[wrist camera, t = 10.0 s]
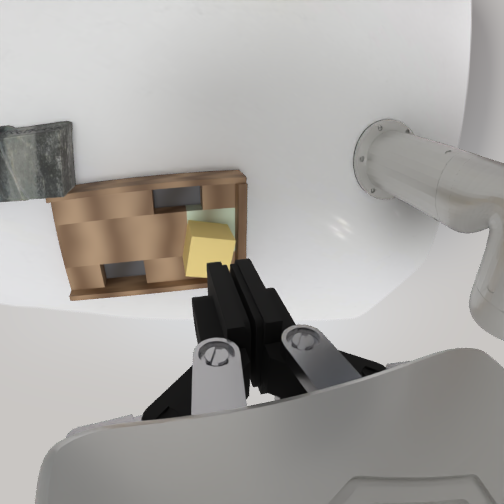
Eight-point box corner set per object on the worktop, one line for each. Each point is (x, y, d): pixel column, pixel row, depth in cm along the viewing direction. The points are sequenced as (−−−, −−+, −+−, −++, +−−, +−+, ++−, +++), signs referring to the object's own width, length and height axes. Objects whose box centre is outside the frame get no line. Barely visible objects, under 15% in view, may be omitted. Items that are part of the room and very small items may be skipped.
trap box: (238, 169, 40) (247, 178, 36) (238, 268, 47) (245, 285, 43) (55, 188, 34) (44, 198, 31) (76, 284, 41) (70, 302, 37)
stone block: (-17, 130, 28) (-37, 135, 23) (75, 115, 32) (62, 118, 27) (-12, 194, 32) (-30, 206, 27) (76, 185, 35) (65, 197, 31)
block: (227, 224, 40) (235, 240, 36) (220, 259, 42) (227, 279, 38) (188, 219, 39) (191, 236, 34) (182, 256, 41) (185, 276, 36)
